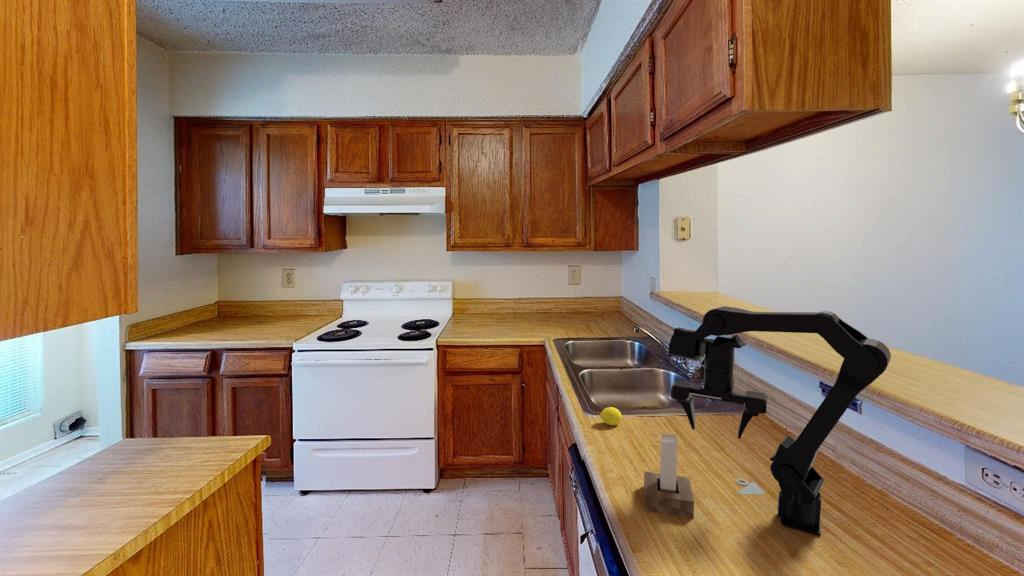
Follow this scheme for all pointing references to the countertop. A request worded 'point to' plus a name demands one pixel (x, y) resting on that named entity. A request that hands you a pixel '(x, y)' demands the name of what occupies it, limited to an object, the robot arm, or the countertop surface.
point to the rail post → (668, 463)
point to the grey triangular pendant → (749, 488)
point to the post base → (668, 496)
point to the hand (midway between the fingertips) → (715, 433)
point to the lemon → (611, 416)
